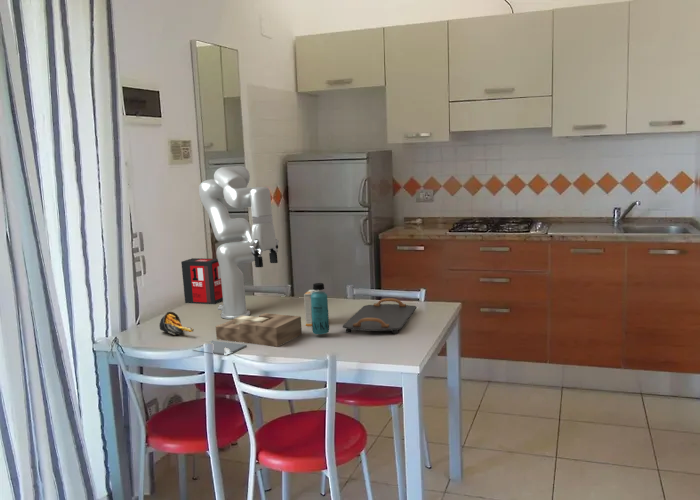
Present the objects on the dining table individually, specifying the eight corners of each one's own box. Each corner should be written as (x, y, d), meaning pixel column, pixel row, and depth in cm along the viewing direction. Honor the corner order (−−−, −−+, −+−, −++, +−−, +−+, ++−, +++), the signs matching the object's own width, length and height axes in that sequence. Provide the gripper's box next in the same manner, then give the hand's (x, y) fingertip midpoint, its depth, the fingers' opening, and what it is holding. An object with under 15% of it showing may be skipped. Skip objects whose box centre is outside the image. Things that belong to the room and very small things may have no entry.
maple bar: (234, 327, 249) (234, 318, 249) (242, 324, 253) (241, 315, 253) (262, 330, 243) (261, 321, 242) (269, 327, 247) (269, 318, 246)
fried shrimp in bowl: (170, 316, 267) (202, 305, 258) (171, 343, 263) (203, 332, 254) (152, 313, 259) (184, 301, 251) (153, 340, 256) (186, 330, 247)
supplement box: (317, 326, 258) (315, 293, 256) (305, 326, 259) (303, 293, 257) (322, 320, 266) (320, 289, 264) (310, 320, 267) (308, 289, 265)
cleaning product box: (185, 303, 311) (181, 261, 308) (196, 298, 319) (192, 258, 316) (215, 304, 305) (211, 262, 302) (225, 299, 313) (221, 258, 310)
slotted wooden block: (216, 339, 247) (215, 321, 246) (243, 327, 261) (241, 310, 260) (277, 346, 234) (276, 327, 232) (301, 334, 247) (300, 316, 246)
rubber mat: (192, 350, 234) (192, 349, 234) (212, 342, 244) (212, 340, 244) (227, 355, 226) (226, 354, 226) (246, 346, 236) (246, 344, 236)
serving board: (366, 309, 281) (365, 295, 280) (419, 311, 274) (418, 296, 273) (339, 336, 245) (338, 319, 244) (399, 338, 238) (399, 321, 237)
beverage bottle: (312, 334, 247) (308, 282, 244) (329, 332, 248) (326, 281, 245) (312, 338, 241) (309, 285, 238) (330, 337, 241) (327, 284, 238)
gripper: (267, 218, 256) (271, 261, 258) (240, 223, 241) (245, 268, 243) (283, 217, 253) (287, 261, 255) (257, 222, 238) (261, 268, 240)
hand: (266, 265), depth 249 cm, fingers open, 9 cm apart
